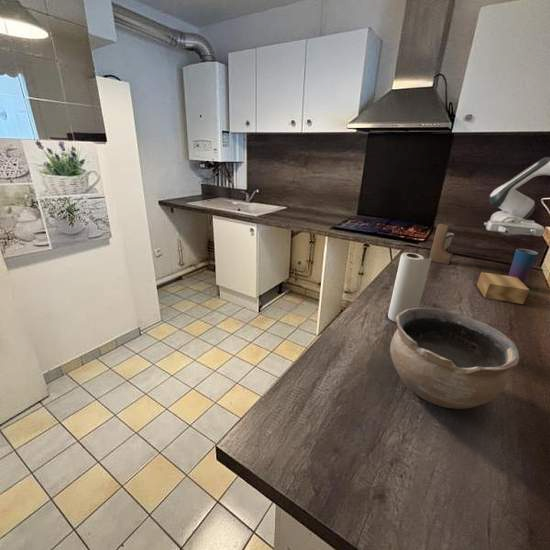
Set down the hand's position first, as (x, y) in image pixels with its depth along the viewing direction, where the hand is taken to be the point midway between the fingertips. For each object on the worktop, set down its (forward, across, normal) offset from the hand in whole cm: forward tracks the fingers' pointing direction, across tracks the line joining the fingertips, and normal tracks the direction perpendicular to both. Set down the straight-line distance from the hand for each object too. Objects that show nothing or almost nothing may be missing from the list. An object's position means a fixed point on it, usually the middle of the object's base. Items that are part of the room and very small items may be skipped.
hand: (519, 232), depth 122 cm
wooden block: (-7, -25, +20) cm, 33 cm away
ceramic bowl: (+88, -37, +20) cm, 97 cm away
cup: (+12, 0, +20) cm, 23 cm away
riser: (+24, -8, +20) cm, 32 cm away
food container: (-24, -23, +20) cm, 39 cm away
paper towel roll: (+60, -44, +20) cm, 77 cm away
